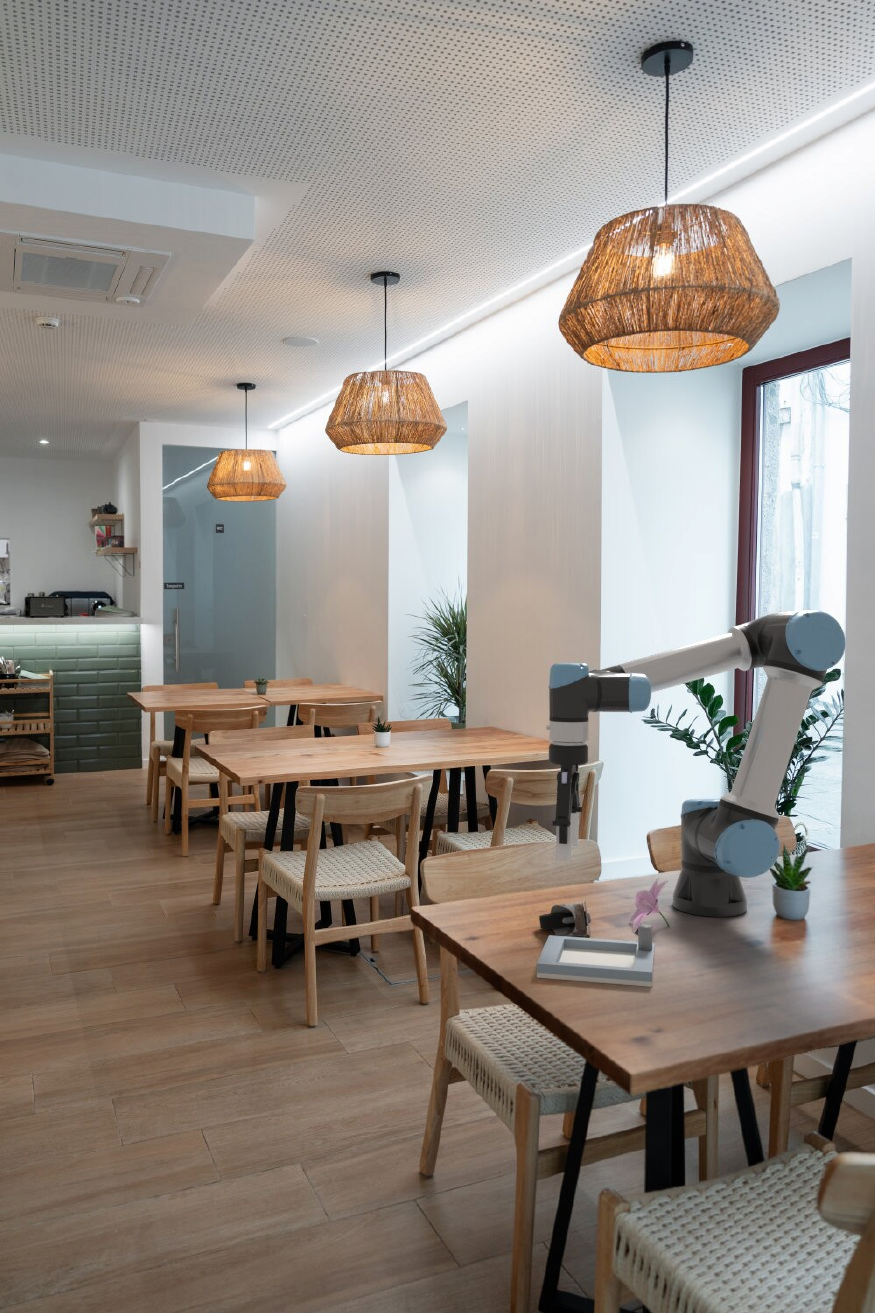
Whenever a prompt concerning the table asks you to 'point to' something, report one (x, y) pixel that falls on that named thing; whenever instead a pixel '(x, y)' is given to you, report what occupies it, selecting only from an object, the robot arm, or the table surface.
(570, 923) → the caster wheel
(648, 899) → the lily
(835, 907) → the table surface
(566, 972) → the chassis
